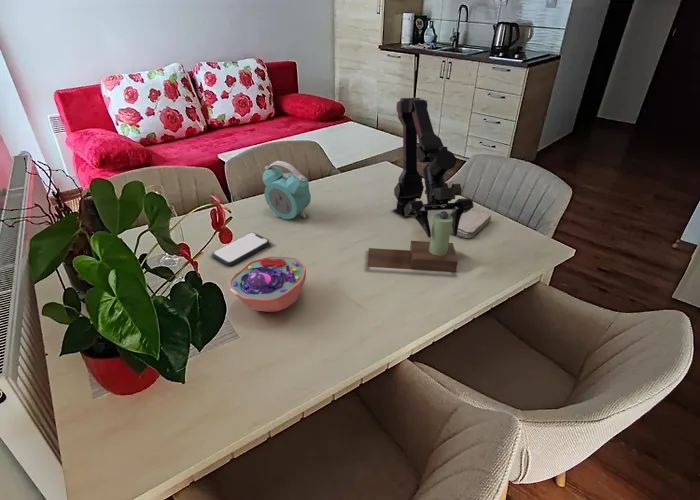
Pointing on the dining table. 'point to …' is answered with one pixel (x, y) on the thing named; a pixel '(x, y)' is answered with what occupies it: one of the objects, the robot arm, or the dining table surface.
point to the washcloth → (471, 223)
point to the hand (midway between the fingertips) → (442, 236)
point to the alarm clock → (286, 191)
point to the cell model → (269, 283)
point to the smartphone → (240, 249)
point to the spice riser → (413, 258)
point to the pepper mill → (440, 233)
